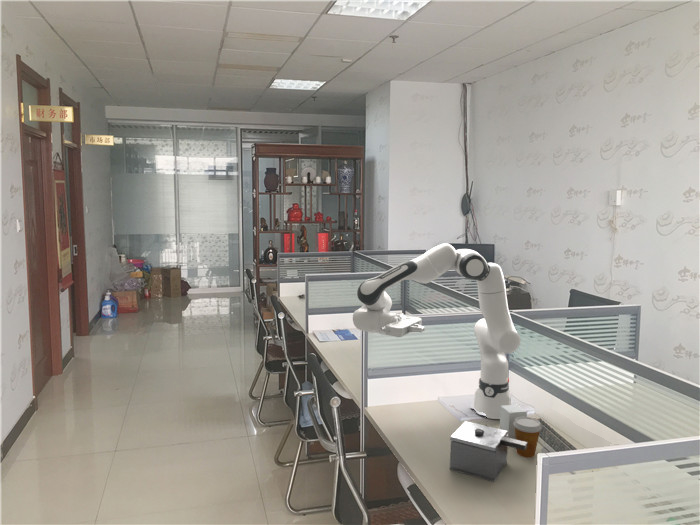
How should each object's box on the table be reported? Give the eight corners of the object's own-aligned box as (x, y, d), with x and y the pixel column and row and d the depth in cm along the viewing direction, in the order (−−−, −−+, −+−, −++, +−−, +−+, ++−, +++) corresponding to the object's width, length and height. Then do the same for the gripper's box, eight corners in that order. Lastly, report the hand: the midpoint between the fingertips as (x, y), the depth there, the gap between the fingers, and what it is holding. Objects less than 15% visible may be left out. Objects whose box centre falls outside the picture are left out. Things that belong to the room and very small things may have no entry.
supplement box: (525, 444, 210) (527, 411, 208) (507, 445, 208) (509, 412, 207) (516, 435, 217) (518, 404, 215) (498, 436, 215) (500, 405, 214)
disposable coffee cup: (541, 451, 204) (543, 419, 203) (537, 462, 196) (539, 429, 194) (514, 445, 209) (516, 414, 207) (509, 456, 200) (511, 423, 199)
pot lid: (465, 424, 201) (465, 418, 201) (531, 439, 190) (531, 433, 190) (450, 440, 189) (450, 433, 188) (520, 457, 177) (520, 451, 177)
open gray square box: (464, 451, 203) (465, 425, 201) (506, 462, 195) (508, 435, 194) (449, 469, 190) (451, 441, 189) (493, 481, 182) (495, 452, 181)
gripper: (378, 321, 213) (412, 326, 206) (401, 311, 230) (433, 316, 223) (378, 338, 214) (411, 343, 207) (401, 327, 231) (433, 332, 224)
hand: (423, 329), depth 215 cm, fingers closed
